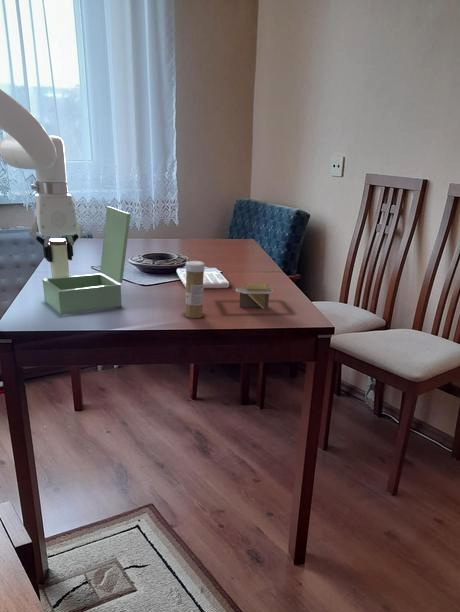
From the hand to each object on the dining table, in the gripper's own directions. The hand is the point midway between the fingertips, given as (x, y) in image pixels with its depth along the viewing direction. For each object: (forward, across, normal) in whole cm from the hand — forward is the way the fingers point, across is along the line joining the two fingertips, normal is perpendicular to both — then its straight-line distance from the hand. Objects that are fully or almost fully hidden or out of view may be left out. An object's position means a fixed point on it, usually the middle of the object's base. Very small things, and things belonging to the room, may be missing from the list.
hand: (59, 259), depth 151 cm
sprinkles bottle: (+9, +22, -36) cm, 43 cm away
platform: (+9, +40, -37) cm, 55 cm away
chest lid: (-7, +9, -17) cm, 20 cm away
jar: (+6, 0, 0) cm, 6 cm away
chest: (+8, 0, -17) cm, 19 cm away
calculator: (+9, +42, -6) cm, 43 cm away
